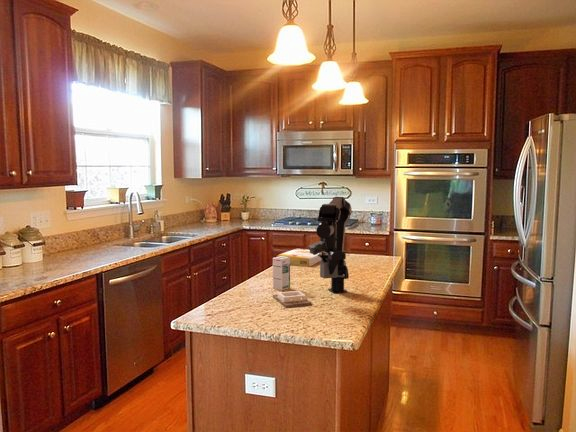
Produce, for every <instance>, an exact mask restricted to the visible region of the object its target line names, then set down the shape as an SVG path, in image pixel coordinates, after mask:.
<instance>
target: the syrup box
mask: <svg viewBox="0 0 576 432" xmlns="http://www.w3.org/2000/svg"><path fill="white" fill-rule="evenodd" d="M272 289H275V290H278V291H285V290H288V289H291V265H290V257H286V256H280V257H277V256H276V257H272Z"/></svg>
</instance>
